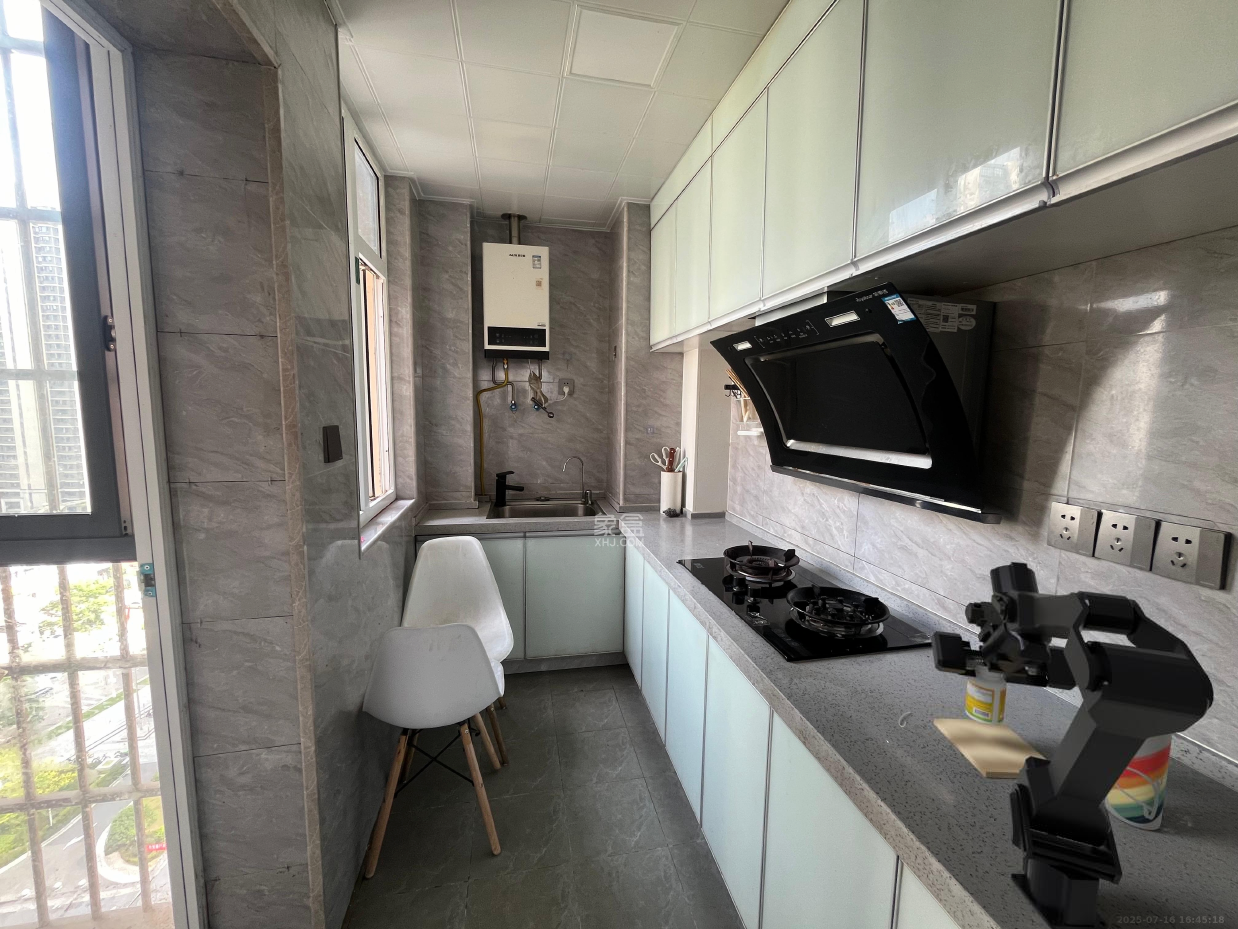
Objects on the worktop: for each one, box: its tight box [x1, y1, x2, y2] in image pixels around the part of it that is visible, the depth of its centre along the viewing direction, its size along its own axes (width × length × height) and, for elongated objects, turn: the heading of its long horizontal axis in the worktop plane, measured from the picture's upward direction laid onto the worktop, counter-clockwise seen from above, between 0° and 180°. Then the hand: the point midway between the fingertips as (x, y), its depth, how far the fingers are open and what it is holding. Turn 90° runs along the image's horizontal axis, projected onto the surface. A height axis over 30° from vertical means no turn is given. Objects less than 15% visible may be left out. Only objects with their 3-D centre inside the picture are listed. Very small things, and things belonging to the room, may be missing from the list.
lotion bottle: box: [1104, 734, 1173, 831], centre depth 72 cm, size 6×6×20 cm
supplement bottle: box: [964, 660, 1008, 726], centre depth 87 cm, size 5×5×10 cm
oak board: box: [933, 718, 1046, 779], centre depth 87 cm, size 14×12×1 cm
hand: (984, 676), depth 88 cm, fingers closed on supplement bottle, 5 cm apart
